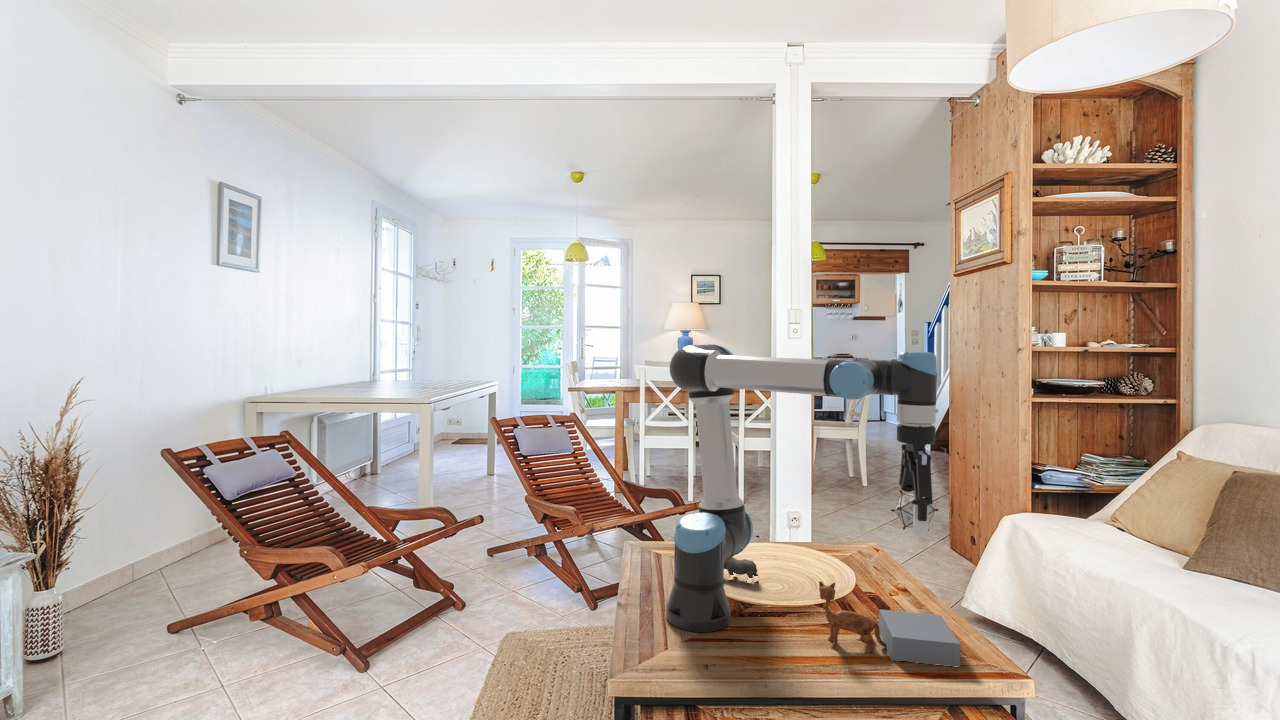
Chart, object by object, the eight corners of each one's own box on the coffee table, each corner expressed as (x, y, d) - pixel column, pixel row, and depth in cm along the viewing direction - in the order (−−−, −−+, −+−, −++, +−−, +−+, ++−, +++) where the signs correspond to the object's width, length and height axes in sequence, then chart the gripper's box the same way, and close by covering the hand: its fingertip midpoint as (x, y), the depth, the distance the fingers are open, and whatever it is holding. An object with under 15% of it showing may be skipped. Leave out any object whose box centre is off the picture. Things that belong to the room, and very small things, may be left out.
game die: (920, 548, 127) (931, 519, 120) (881, 527, 131) (889, 498, 125) (937, 521, 131) (948, 492, 125) (899, 501, 136) (908, 472, 130)
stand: (891, 660, 124) (892, 636, 124) (878, 630, 137) (879, 609, 136) (959, 668, 121) (960, 643, 121) (939, 637, 134) (940, 615, 134)
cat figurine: (896, 646, 132) (901, 585, 132) (906, 662, 126) (911, 598, 125) (812, 636, 134) (817, 576, 134) (818, 651, 128) (822, 588, 127)
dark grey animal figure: (711, 572, 170) (711, 551, 170) (759, 580, 164) (760, 558, 164) (707, 577, 166) (707, 556, 166) (756, 586, 161) (757, 564, 160)
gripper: (952, 432, 116) (949, 546, 117) (920, 418, 138) (918, 514, 139) (910, 430, 117) (908, 543, 118) (886, 417, 139) (884, 512, 140)
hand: (913, 527), depth 128 cm, fingers closed on game die, 10 cm apart
